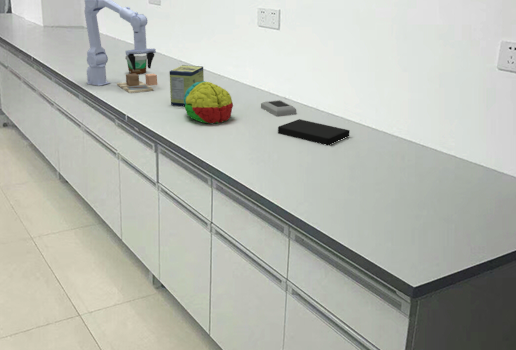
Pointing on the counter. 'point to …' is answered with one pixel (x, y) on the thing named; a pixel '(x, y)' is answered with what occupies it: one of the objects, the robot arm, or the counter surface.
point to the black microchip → (313, 131)
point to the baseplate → (124, 86)
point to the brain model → (208, 103)
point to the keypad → (278, 108)
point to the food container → (137, 65)
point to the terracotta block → (151, 79)
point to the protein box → (183, 82)
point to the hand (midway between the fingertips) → (141, 68)
